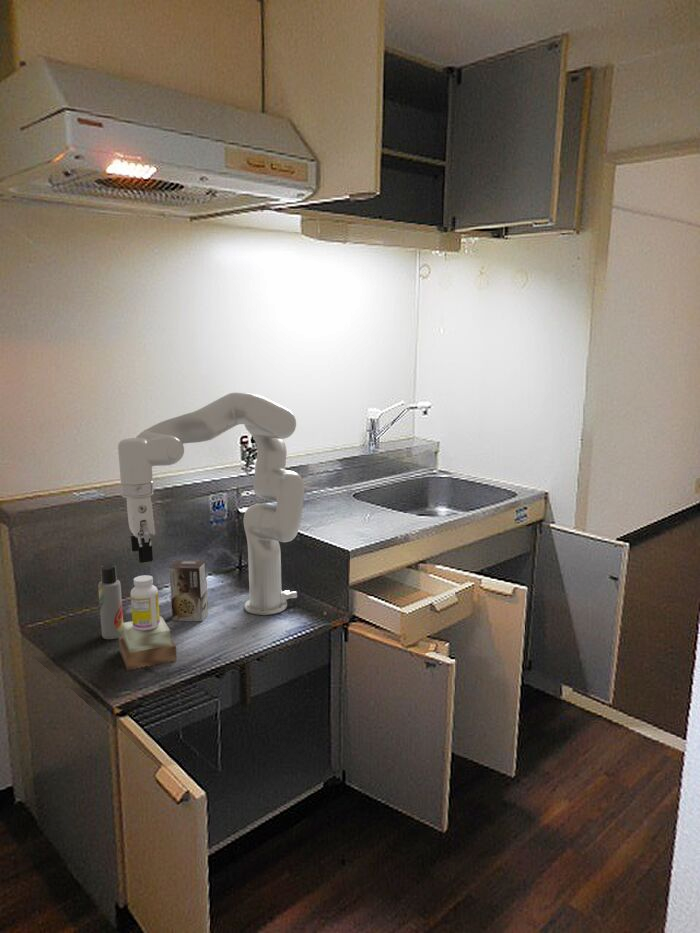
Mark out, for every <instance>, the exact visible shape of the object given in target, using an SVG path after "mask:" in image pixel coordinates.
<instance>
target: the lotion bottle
mask: <svg viewBox="0 0 700 933" xmlns="http://www.w3.org/2000/svg"><path fill="white" fill-rule="evenodd" d="M100 578H101V581H100V582H98V584H97V586H98V599H99V600H98V602H99V611H100V612H99V614H100V628H101V636H102V638H103V639H105V640H117V639H119V637H121V636H123V628H122V623H124V617H123V615H124V614H123V601H122V586H121V581H120V580H119V579H118V577H117V567H116V565H115V564H113V563H106V564H103V565H101V566H100Z"/></svg>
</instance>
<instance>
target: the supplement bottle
mask: <svg viewBox="0 0 700 933" xmlns="http://www.w3.org/2000/svg"><path fill="white" fill-rule="evenodd" d="M153 583H154V578H153V576H152V575H147V574H146V575H145V574H144V575H138V576H136V577H133V585H134V587H133V588H131V590H130V605H131V618H132V619H131V621H133V627H134V628H135V629H136V630H140V631H147V630H152V629H154V628H156V627H158V626H159V624H160V616H161V615H160V605H159V592H158V590H159V589H158V588H157V586H155V585H154V584H153Z"/></svg>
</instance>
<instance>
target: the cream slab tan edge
mask: <svg viewBox="0 0 700 933" xmlns="http://www.w3.org/2000/svg"><path fill="white" fill-rule="evenodd" d="M159 616H160V624H159V626H158V627H156V628H154V629H152V630H147V631H140V630H136V629H135V628H134V627H133V620H131V621H127V622H126V621H125V622H123V623H122V628H123V635H122V636H121V637H119V638H118V647H119V648H118V651H119V653H120V655H121V658H122V660H123V664H124V667H125V668H126V671H127V670H129V671H133V670H137V669H136V668H138V669H142V668H141V667H143V668H146V667H145V666H148V667H151V666H150V665H153V666H156V665H155V664H158V665H161V664H160V663H163V664H165V663H164V662H168V663H171V662H170V661H173V662H176V661H175V660H177V647H176V646H177V645H176V643H175V642H174V640H173V639H172V637H171V630H170V628H169V626H168V624H167V623H166V621H165V619H164V618H163V616H161V615H159ZM132 669H133V670H132Z"/></svg>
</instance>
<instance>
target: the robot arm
mask: <svg viewBox="0 0 700 933" xmlns="http://www.w3.org/2000/svg"><path fill="white" fill-rule="evenodd" d="M238 425H244V427H245V429H246V431H247V432H248V433H249V434H250V435H251V437H252V438H253V440H254V442H255V445H256V451H257V452H256V463H255V470H254V478H253V492H254V494H255V496H256V497H258V498H260V499H263V500H267V501H271V502H274V503H276V505H272V504H268V503H254V504H251V505H250V506H249V507H247V509H246V510H245V513H244V516H243V528H244V532H245V536H246V541H247V542H246V543H247V555H248V559H247V560H248V586H249V587H248V588H249V590H248V593H249V594H248V595H249V599H248V600H246V602H244V610H245V611H246V612H247V613H249V614H252V615H259V616H268V615H275V614H278V613H281V612H283V611H284V610H286V609H287V607H288V602H287V601H288V600H289V599H296V598H297V597H298V592H297V591H290V590H289V589H288V590H284V591H283V590H282V562H281V560H282V557H281V556H282V555H281V554H282V553H281V546H280V543H288V542H292V541H293V540H294V539H296V537H297V535H298V533H299V530H300V528H301V527H300V526H301V522H302V521H301V520H302V514H303V508H304V499H305V484H304V480H303V478H302V476H301V475H300V474H299V473H298V472H295V471H293V470H288V469H286V463H287V446H286V443H285V439H288V438H290V437H291V436H292V435H293V434H294V433H295V431H296V428H297V420H296V416H295V415H294V413H293V412H292V411H291V410H290V409H288V407H287V408H286V407H284V406H282V405H281V404H279V403H276V402H275V401H272V400H270V399H268V398H266V397H265V396H261V395H259V394H255V393H246V392H231V393H228V394H226V395H223V396H221V397H220V398H218V399H216V400H214V401H212V402H211V403H208V404H206V405H204V406H203V407H200V408H199V409H197V410H194V411H192V412H188V413H184V414H182V415H179V416H176V417H172V418H168V419H166V420H163V421H160V422H159V423H156V424H154V425H151V426H150V427H148V428H146V429H144V430H143V431H141V432H140V433H139V434H138V435H136V437H133V438H131V437H129V438H125V439H124V438H123V439H122V440H120V441H119V442H118V445H117V451H118V461H119V462H118V464H119V477H120V479H119V480H120V488H121V490H120V492H121V497H122V498H124V499H126V510H127V519H128V520H127V521H128V522H127V523H128V527H129V531H130V535H131V536H130V542H131V551H132V552H137V553H138V563H143V564H144V563H149V562H153V561H154V555H153V545H152V540H151V536H152V537H153V536H155V535H156V527H155V519H154V510H153V502H152V498H151V497H152V496H153V495H154V478H153V467H160V466H161V467H162V466H172V465H176V464H177V463H178V462H179V461H181V459H182V458H183V456H184V454H185V446H184V444H185V445H186V444H192V443H193V444H195V443H202V442H207V441H211V440H213V439H215V438H217V437H219V436H220V435H222V434H224V433H226V432H227V431H229V430H231V429H233V428H234V427H236V426H238Z"/></svg>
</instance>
